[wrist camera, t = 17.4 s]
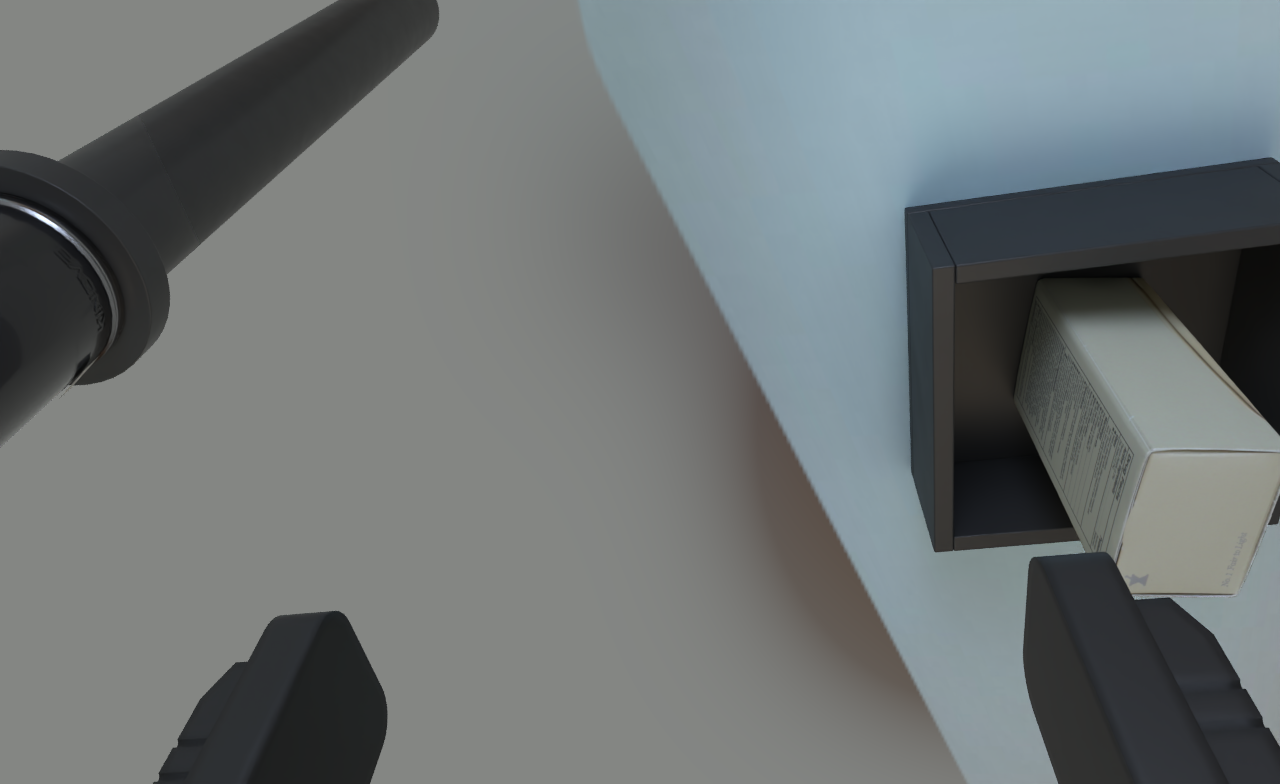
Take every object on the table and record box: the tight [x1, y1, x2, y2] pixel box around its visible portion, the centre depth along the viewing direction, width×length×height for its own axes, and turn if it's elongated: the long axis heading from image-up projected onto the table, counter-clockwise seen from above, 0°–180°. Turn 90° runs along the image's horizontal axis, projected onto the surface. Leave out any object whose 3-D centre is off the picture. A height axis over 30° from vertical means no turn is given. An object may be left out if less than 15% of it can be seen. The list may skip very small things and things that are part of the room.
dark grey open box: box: [905, 158, 1280, 552], centre depth 37 cm, size 14×14×6 cm
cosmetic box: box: [1014, 278, 1280, 597], centre depth 34 cm, size 6×4×12 cm
